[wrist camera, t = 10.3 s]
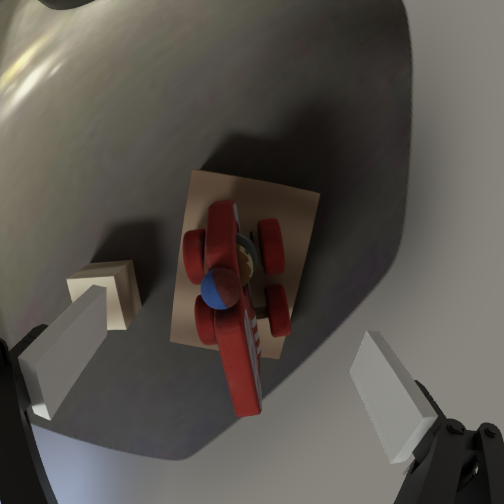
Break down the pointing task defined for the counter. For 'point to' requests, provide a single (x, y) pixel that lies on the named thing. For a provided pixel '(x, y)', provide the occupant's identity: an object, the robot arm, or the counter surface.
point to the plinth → (249, 213)
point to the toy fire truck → (236, 295)
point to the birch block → (111, 290)
